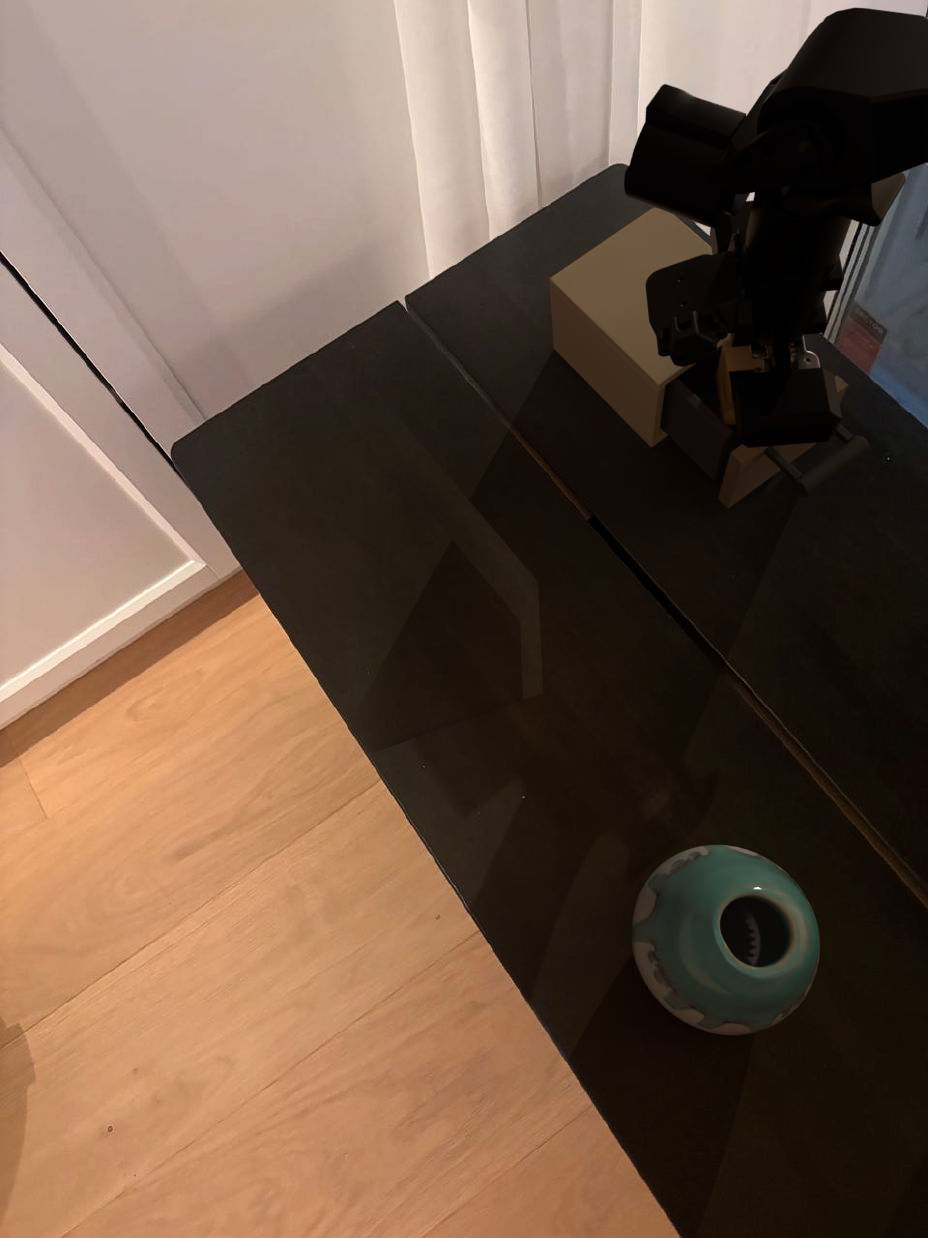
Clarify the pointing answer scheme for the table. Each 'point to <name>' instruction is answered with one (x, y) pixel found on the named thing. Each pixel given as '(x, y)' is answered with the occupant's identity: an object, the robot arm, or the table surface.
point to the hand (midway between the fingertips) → (751, 390)
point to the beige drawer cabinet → (622, 317)
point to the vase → (725, 939)
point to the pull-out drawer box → (718, 450)
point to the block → (728, 362)
